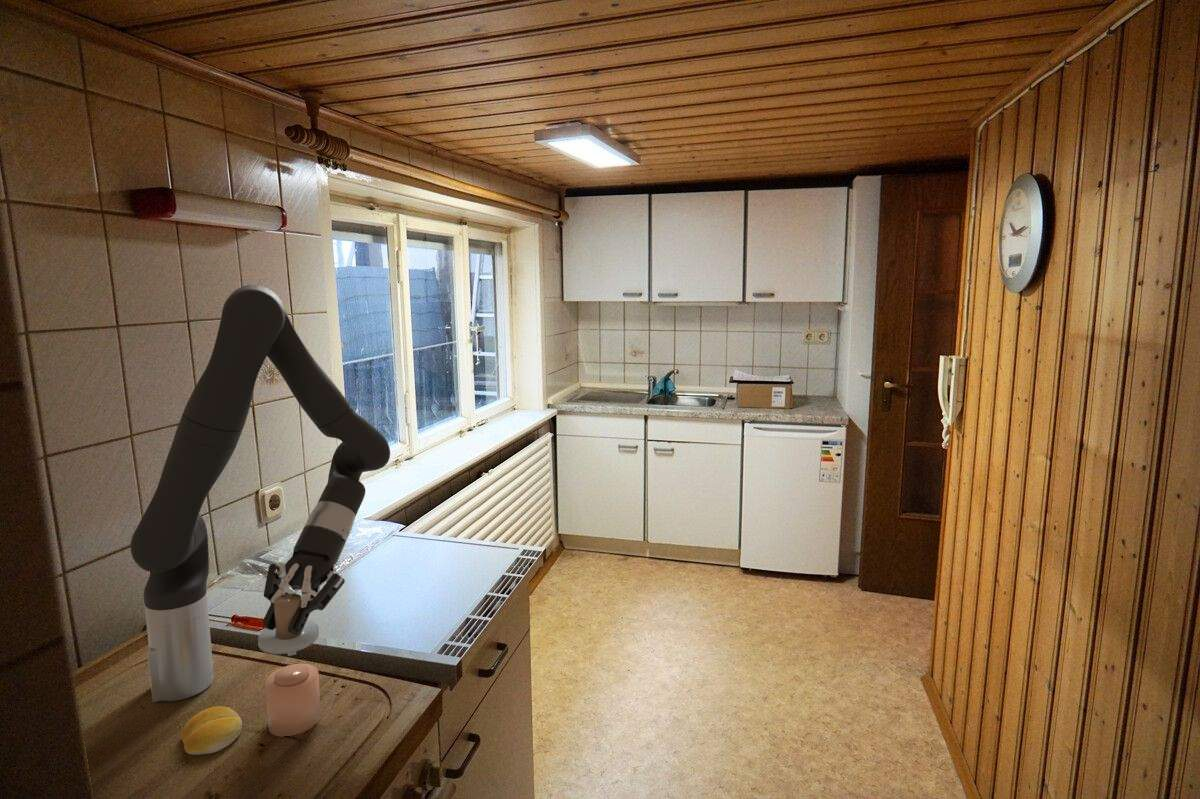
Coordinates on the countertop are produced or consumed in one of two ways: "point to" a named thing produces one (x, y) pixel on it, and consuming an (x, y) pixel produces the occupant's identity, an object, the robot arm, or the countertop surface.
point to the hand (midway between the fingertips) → (280, 630)
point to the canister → (292, 699)
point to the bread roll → (211, 730)
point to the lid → (280, 637)
